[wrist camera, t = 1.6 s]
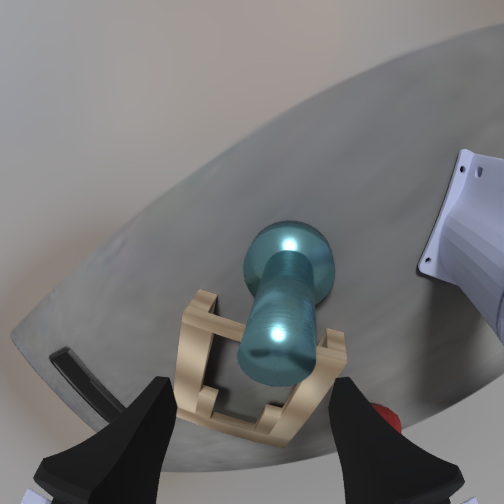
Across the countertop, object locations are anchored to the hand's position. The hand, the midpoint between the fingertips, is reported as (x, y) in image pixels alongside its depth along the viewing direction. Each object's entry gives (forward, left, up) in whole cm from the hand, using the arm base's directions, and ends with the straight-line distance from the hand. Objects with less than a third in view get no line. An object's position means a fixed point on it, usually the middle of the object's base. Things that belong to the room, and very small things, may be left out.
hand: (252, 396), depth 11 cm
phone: (+27, -20, -11) cm, 35 cm away
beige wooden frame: (+10, 0, -11) cm, 14 cm away
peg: (-2, 0, -11) cm, 11 cm away
